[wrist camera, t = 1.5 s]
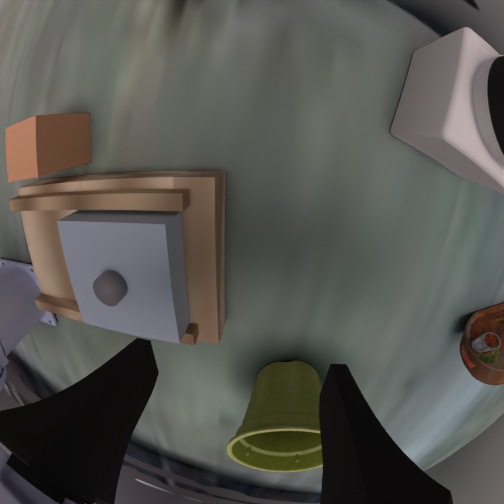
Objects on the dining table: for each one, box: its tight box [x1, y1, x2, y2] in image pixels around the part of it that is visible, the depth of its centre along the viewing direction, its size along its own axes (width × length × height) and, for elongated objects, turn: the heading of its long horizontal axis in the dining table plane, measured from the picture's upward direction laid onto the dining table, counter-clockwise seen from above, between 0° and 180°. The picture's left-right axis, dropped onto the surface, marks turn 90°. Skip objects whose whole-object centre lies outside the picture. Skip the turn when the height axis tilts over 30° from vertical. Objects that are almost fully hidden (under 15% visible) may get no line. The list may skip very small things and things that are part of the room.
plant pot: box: [227, 360, 323, 472], centre depth 21 cm, size 9×9×9 cm
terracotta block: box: [6, 114, 91, 182], centre depth 15 cm, size 4×4×6 cm
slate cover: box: [57, 210, 190, 344], centre depth 16 cm, size 8×8×4 cm
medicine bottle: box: [390, 27, 504, 194], centre depth 9 cm, size 7×7×12 cm
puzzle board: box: [9, 170, 226, 345], centre depth 19 cm, size 18×12×4 cm, turn 88°
